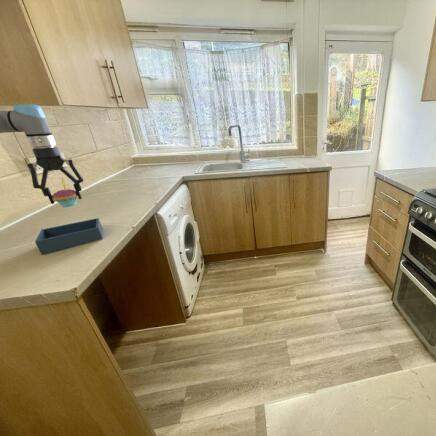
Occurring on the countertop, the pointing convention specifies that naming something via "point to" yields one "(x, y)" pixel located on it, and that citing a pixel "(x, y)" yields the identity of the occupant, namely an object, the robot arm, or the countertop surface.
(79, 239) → the bin
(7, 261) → the countertop surface
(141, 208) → the countertop surface
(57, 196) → the cupcake
